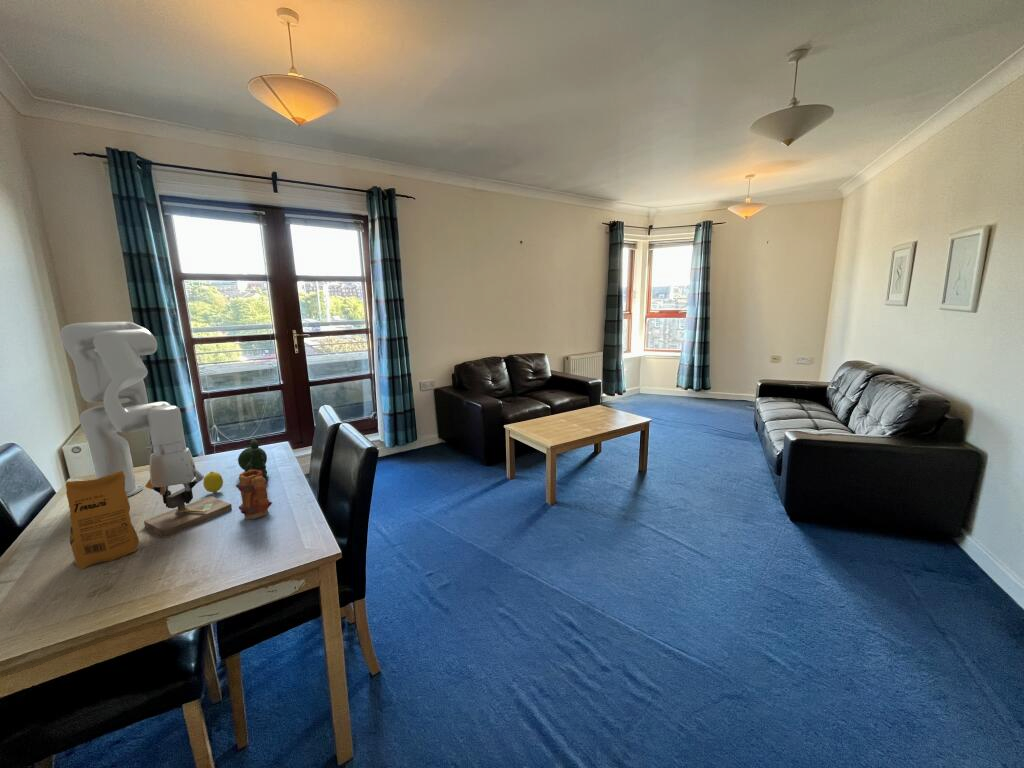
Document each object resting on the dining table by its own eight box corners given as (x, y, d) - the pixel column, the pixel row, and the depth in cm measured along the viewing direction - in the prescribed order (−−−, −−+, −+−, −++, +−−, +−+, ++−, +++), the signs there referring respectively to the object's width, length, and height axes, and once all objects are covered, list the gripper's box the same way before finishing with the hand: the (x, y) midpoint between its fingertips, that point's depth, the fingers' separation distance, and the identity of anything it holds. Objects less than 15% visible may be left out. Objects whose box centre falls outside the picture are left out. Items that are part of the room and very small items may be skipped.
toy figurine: (276, 490, 149) (265, 463, 168) (271, 442, 144) (260, 420, 163) (246, 497, 143) (237, 469, 162) (239, 448, 138) (232, 425, 157)
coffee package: (77, 554, 108) (59, 477, 104) (140, 537, 116) (126, 465, 112) (71, 573, 101) (52, 490, 96) (139, 553, 108) (124, 476, 104)
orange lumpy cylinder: (237, 514, 128) (231, 470, 125) (266, 505, 134) (260, 462, 131) (251, 532, 119) (244, 484, 116) (281, 521, 125) (276, 475, 122)
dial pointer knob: (168, 516, 123) (165, 496, 122) (187, 506, 129) (184, 487, 128) (196, 518, 122) (193, 498, 121) (214, 507, 128) (211, 489, 127)
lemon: (214, 497, 140) (211, 475, 138) (201, 495, 141) (197, 474, 140) (228, 490, 145) (225, 469, 144) (215, 488, 146) (212, 467, 145)
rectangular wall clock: (144, 526, 121) (143, 520, 121) (211, 501, 137) (210, 495, 137) (164, 537, 116) (163, 530, 115) (231, 509, 132) (231, 503, 131)
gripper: (128, 455, 115) (139, 514, 118) (200, 447, 122) (209, 503, 125) (138, 447, 121) (149, 503, 125) (206, 439, 128) (215, 493, 132)
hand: (179, 502), depth 125 cm, fingers closed on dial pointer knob, 4 cm apart
